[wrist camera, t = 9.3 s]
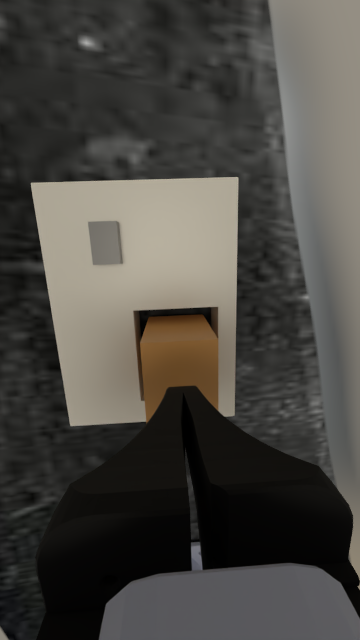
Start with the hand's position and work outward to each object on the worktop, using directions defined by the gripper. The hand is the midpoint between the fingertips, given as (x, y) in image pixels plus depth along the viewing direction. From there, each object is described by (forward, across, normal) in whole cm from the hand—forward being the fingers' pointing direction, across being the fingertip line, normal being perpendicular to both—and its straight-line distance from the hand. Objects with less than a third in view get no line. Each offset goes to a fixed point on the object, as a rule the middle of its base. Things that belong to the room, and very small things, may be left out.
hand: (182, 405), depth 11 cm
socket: (+9, +2, -3) cm, 10 cm away
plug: (+9, 0, 0) cm, 9 cm away
